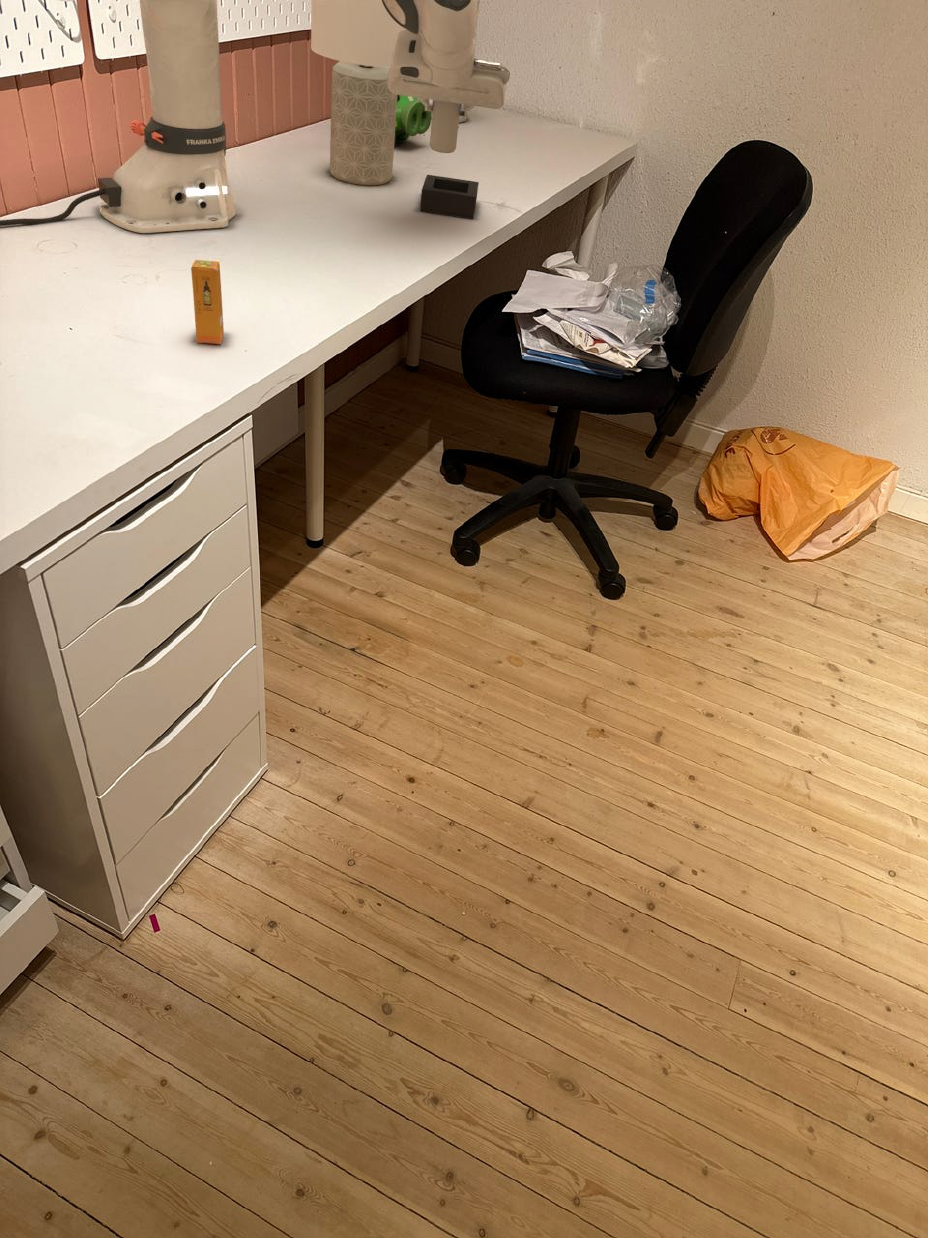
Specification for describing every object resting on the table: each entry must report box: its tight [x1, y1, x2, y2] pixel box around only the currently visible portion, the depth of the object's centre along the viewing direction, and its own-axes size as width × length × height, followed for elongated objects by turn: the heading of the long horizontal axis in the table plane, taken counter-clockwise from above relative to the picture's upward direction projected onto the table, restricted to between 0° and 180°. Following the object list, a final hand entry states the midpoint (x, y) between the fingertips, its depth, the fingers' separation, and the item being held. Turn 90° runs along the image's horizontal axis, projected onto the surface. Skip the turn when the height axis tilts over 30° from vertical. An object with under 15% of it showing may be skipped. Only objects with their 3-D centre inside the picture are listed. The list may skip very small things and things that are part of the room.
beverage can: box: [429, 100, 460, 154], centre depth 164 cm, size 5×5×12 cm
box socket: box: [419, 174, 479, 220], centre depth 177 cm, size 10×10×4 cm
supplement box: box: [190, 259, 225, 345], centre depth 120 cm, size 3×3×10 cm
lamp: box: [310, 0, 407, 186], centre depth 174 cm, size 21×21×42 cm
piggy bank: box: [394, 95, 432, 143], centre depth 206 cm, size 14×18×15 cm
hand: (446, 109), depth 164 cm, fingers closed on beverage can, 5 cm apart
